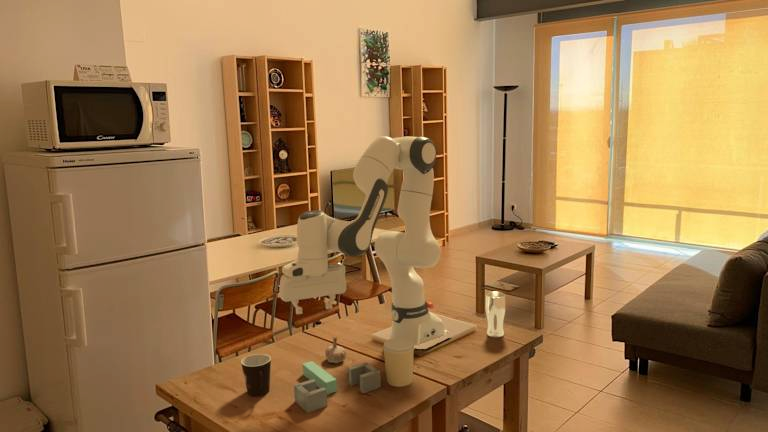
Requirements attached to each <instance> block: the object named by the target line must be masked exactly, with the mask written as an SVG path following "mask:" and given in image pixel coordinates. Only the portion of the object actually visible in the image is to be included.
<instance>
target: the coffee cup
mask: <svg viewBox="0 0 768 432" xmlns="http://www.w3.org/2000/svg"><path fill="white" fill-rule="evenodd" d="M382 348H383V357H384V365H385V376H386V382H387V383H388V385H390V386H393V387H406V386H408V385H411V384H412V382H413V375H414V353H415V352H414V350H415V349H414V344H413V342H412V341H411V340H409V339H406V338H393V339H390V338H389V339H387V340H386V341H384V343H383V345H382Z"/></svg>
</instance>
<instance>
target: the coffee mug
mask: <svg viewBox="0 0 768 432" xmlns="http://www.w3.org/2000/svg"><path fill="white" fill-rule="evenodd" d="M271 362H272V357H271V355H269V354H265V353H254V354H250V355H246V356H245V357H243V358H242V359H241V360H240V363H241V364H240V365H241V369H242V373H243V377H244V383H245V387H246V392H247V394H248V396H250V397H254V398H256V397H257V398H258V397H262V396H265V395H267V394H268V393H270V387H271V385H270V384H271V369H272V368H271V367H272V366H271V365H272V364H271Z"/></svg>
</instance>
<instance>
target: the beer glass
mask: <svg viewBox="0 0 768 432" xmlns="http://www.w3.org/2000/svg"><path fill="white" fill-rule="evenodd" d="M485 313H486V315H485V316H486V319H487V330H486V335H487V336H489V337H491V338H501V337H503V336H504V335H505V333H504V320H505V315H506V293H504V292H503V291H502V292H501V291H489V292H486V295H485Z"/></svg>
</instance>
